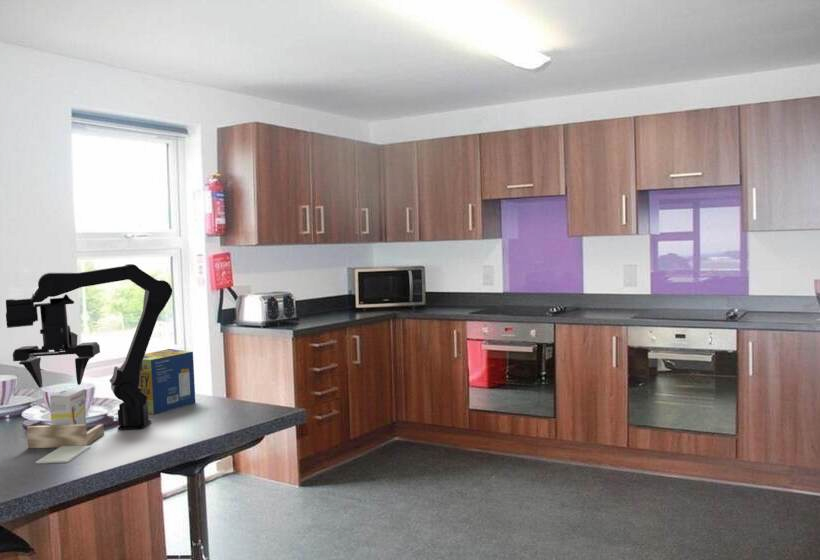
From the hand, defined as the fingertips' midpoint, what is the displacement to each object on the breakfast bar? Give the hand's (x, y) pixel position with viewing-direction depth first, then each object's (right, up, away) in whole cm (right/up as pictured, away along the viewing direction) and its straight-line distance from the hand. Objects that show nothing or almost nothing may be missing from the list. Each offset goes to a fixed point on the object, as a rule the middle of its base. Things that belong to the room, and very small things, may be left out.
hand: (60, 385), depth 174 cm
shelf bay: (+3, -13, -3) cm, 14 cm away
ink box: (+3, -13, -1) cm, 14 cm away
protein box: (+15, -11, +30) cm, 35 cm away
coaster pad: (+8, -14, -14) cm, 21 cm away
